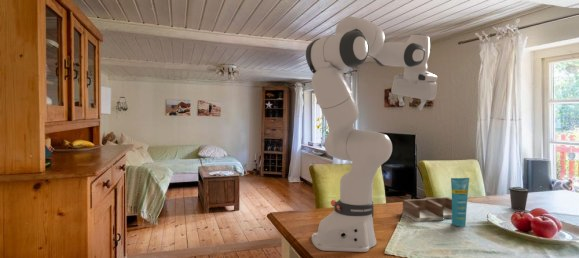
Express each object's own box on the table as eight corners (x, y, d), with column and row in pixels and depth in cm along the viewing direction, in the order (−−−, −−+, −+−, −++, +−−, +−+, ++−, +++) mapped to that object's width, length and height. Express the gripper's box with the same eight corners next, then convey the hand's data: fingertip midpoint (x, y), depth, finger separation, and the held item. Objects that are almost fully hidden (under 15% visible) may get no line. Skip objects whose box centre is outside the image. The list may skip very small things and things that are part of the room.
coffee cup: (521, 206, 156) (522, 185, 156) (532, 211, 148) (533, 189, 148) (504, 205, 157) (504, 185, 157) (514, 210, 149) (514, 189, 149)
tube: (454, 227, 127) (455, 179, 126) (446, 223, 132) (447, 176, 131) (471, 226, 128) (472, 178, 127) (463, 222, 133) (464, 176, 132)
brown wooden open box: (416, 221, 134) (416, 207, 133) (402, 212, 146) (402, 199, 145) (443, 220, 135) (443, 206, 135) (427, 211, 147) (427, 198, 147)
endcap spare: (438, 218, 137) (438, 205, 137) (423, 210, 149) (423, 197, 149) (464, 217, 139) (464, 204, 138) (447, 209, 150) (447, 197, 150)
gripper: (390, 72, 141) (386, 104, 144) (431, 77, 124) (426, 112, 127) (399, 72, 144) (396, 103, 147) (441, 77, 127) (436, 111, 131)
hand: (410, 107), depth 137 cm, fingers open, 8 cm apart
